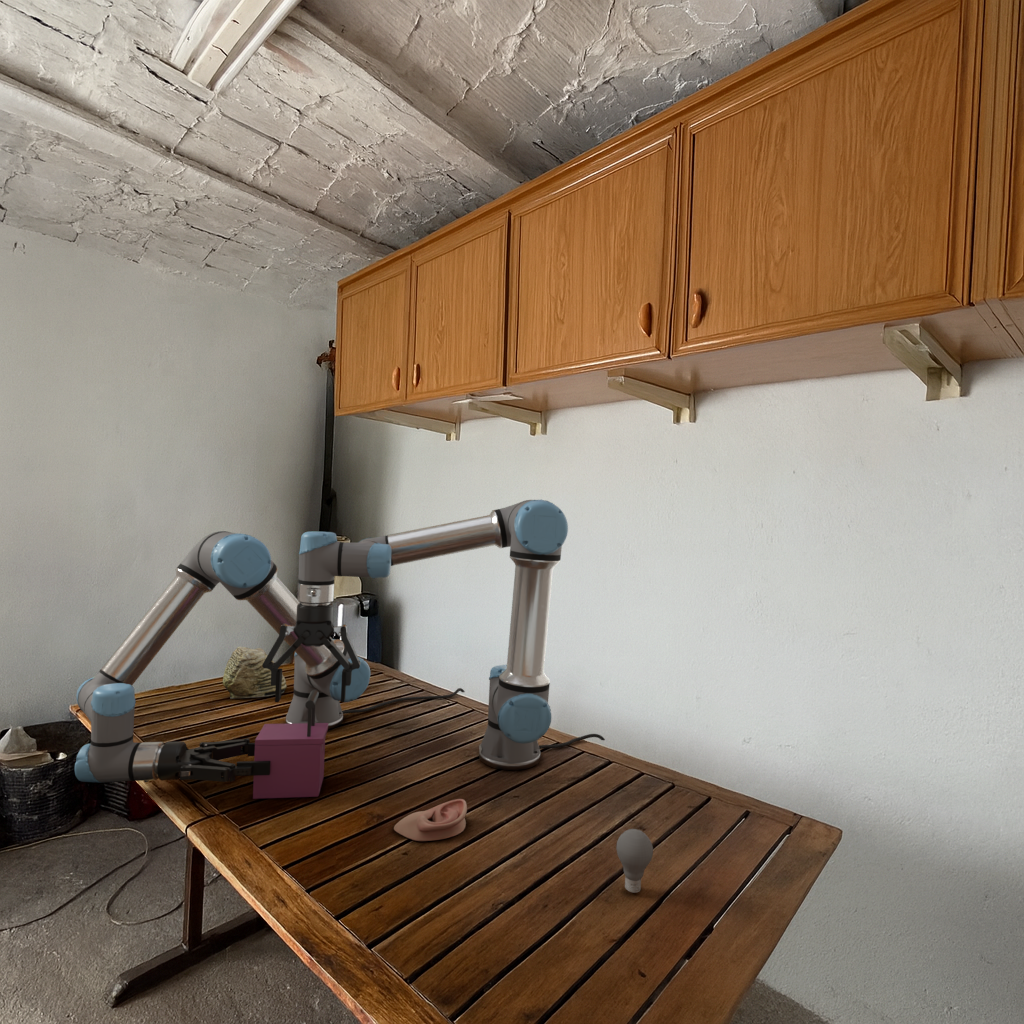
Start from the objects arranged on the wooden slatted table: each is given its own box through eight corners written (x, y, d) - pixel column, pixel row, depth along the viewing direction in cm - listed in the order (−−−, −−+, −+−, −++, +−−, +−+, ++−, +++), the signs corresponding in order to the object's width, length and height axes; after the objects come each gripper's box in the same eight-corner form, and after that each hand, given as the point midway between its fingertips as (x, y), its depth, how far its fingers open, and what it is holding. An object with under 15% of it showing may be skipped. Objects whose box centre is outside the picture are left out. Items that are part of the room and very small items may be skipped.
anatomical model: (388, 815, 119) (410, 788, 130) (387, 836, 119) (409, 808, 130) (456, 826, 116) (472, 797, 127) (455, 847, 116) (471, 817, 128)
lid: (328, 728, 143) (329, 688, 143) (323, 744, 134) (324, 701, 134) (264, 729, 140) (265, 688, 140) (254, 745, 131) (256, 702, 131)
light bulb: (610, 879, 108) (613, 822, 108) (644, 879, 109) (647, 822, 109) (619, 902, 102) (622, 840, 102) (655, 901, 103) (658, 840, 103)
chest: (323, 777, 143) (325, 728, 143) (318, 796, 134) (320, 744, 134) (262, 779, 141) (264, 729, 140) (252, 799, 132) (254, 745, 131)
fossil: (218, 695, 195) (220, 647, 195) (278, 685, 208) (279, 640, 207) (228, 703, 189) (230, 653, 188) (289, 692, 201) (290, 645, 201)
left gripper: (179, 757, 144) (283, 754, 147) (140, 803, 122) (263, 799, 126) (180, 724, 143) (284, 722, 147) (141, 765, 122) (264, 761, 126)
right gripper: (250, 604, 131) (245, 706, 132) (373, 607, 136) (368, 705, 136) (258, 598, 139) (254, 694, 139) (374, 601, 143) (370, 694, 143)
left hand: (274, 757), depth 137 cm, fingers closed on chest, 9 cm apart
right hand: (310, 700), depth 138 cm, fingers open, 13 cm apart
